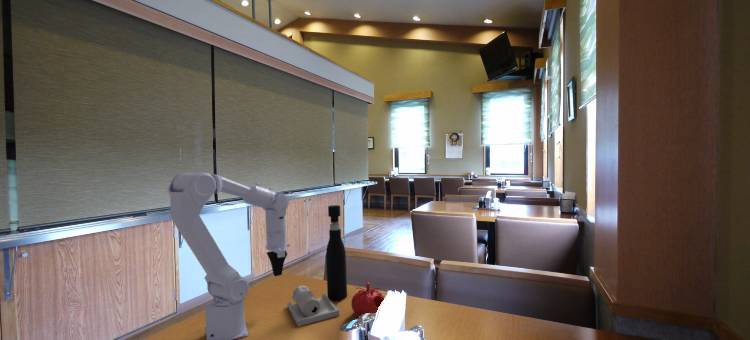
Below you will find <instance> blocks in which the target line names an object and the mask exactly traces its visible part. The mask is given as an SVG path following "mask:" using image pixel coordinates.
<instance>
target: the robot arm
mask: <svg viewBox="0 0 750 340" xmlns="http://www.w3.org/2000/svg"><path fill="white" fill-rule="evenodd" d="M166 189H167V193H168V195H169V198H170V202H169V205H170V210H169V211H170V213H169V214H170V219H171V221H172V222H173V224H174V225H175V227H176V229H177V230H178V232H179V233H180V235H181V237H182V238H183V239H184V241H185V242H186V244H187V245H188V247H189V249H190V250H191V252H192V254H193V255H194V257H195V258H196V260H197V261H198V262H199V264H200V266H201V267H202V270H204V273H206V274H205V276H204V280H205V283H206V284H207V285H206V287H207V288H206V289H207V291H208V293H209V295H210V296H212V301H213V302H210V303H207V304H205V307H204V310H205V311H204V312H205V313H204V315H205V326H204V334H205V336H206V340H236V339H240V338H243V337H247V336H248V335H249V332H248V328H247V323H246V320H245V298H246V296H247V295H248V293H249V289H250V288H249V287H250V284H249V281H248V280H247V278H245V277H243V276H242V275H240V273H239V271H237V270H236V269H235V268H234V267H233V266H231V265H230V264H229V263H228V260H227V259H226V257H225V256H224V254H223V252H222V251H221V249H220V248H219V246H218V245H217V243H216V241H215V239H214V237H213V235H212V234H211V233H210V230H209V229H208V228H207V226H206V224H205V223H204V221H203V219H202V217H201V216H200V214H201V211H202V210H203V208H204V206H206V204H207V203H208V202H209V200H210V199H211V198H212V196H213V195H214V194H219V193H224V194H227V195H232V196H236V197H240V198H242V200H243V202H244V203H245V204H247V205H251V206H254V207H258V208H262V210H264V211H265V235H266V246H265V249H266V250H267V251H268V252H266V255H267V257H268V259H269V261H270V265H271V270H272V273H273V276H274V277H278V276H282V275H283V274H282V273H283V270H284V263H285V261H286V259H287V256H288V252H287V251H286V249H287V248H288V247H291V243H290V242H287V231H286V230H287V229H286V215H287V209H288V207H289V203H290V200H288V197H287V196H286V194H285V193H284V192H282V191H281V192H279V191H274V189H273V188H271V187H269V188H267V187H262V184H261V183H258V182H257V183H256V182H254V183H251V184H248V185H245V184H243V183H242V184H241V183H238V182H236V181H234V180H232V179H229V178H226V177H224V176H221V175H218V174H210V173H209V172H205V171H202V172H180V173H177V174H175V176H173V178H172V179H171V181H170V183H169V185H168V187H167V188H166Z"/></svg>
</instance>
